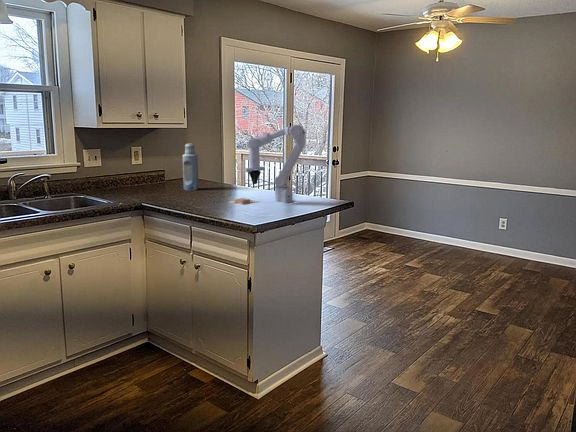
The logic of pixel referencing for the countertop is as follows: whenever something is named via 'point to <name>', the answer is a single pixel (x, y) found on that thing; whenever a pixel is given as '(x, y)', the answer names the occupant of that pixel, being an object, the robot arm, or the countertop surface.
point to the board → (244, 203)
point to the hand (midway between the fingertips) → (254, 183)
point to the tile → (242, 200)
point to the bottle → (190, 168)
